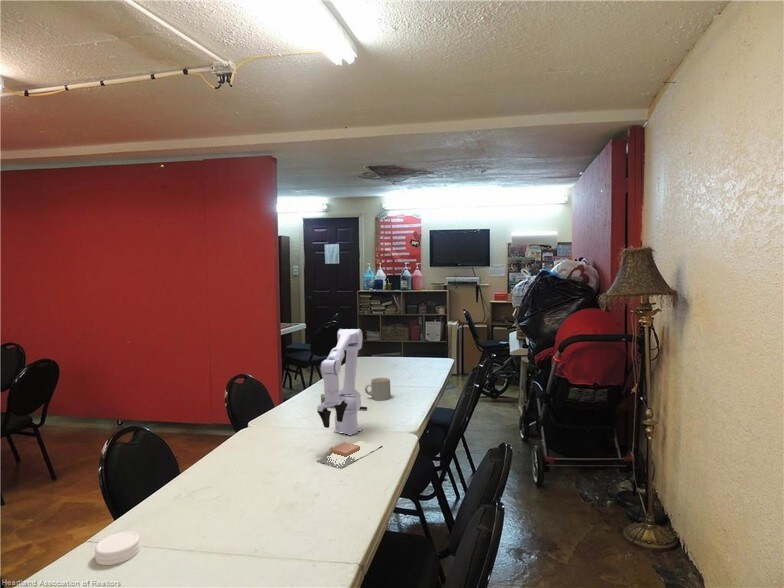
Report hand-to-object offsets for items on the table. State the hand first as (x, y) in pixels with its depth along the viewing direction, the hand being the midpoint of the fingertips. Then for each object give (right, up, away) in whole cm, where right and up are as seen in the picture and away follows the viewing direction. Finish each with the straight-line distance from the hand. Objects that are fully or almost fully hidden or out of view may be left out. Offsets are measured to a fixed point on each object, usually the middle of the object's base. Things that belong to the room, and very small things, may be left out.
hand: (333, 424), depth 188 cm
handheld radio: (-1, -7, +52) cm, 52 cm away
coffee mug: (+16, -5, +68) cm, 70 cm away
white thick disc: (-47, -16, -66) cm, 82 cm away
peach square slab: (+2, -8, -2) cm, 9 cm away
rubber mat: (+7, -10, -6) cm, 14 cm away
